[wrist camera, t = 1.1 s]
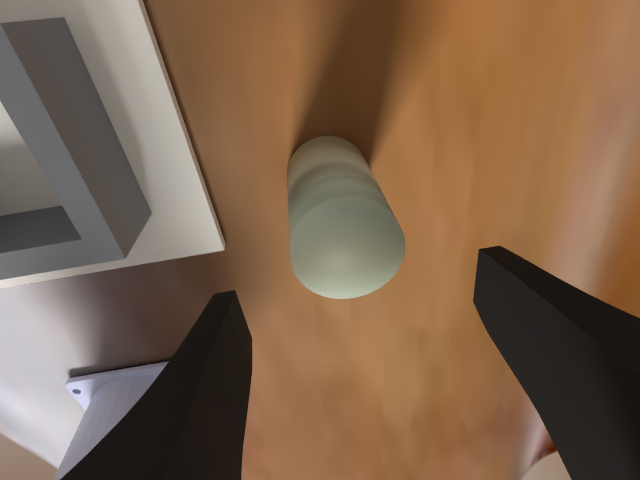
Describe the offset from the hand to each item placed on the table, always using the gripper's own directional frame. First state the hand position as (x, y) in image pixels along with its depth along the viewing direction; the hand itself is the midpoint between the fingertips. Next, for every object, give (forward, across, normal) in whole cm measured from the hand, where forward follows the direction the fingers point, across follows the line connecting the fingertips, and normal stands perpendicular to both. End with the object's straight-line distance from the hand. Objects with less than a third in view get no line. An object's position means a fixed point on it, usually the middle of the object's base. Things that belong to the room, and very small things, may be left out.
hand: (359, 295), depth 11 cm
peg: (+9, 0, 0) cm, 9 cm away
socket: (+9, +13, -4) cm, 16 cm away
